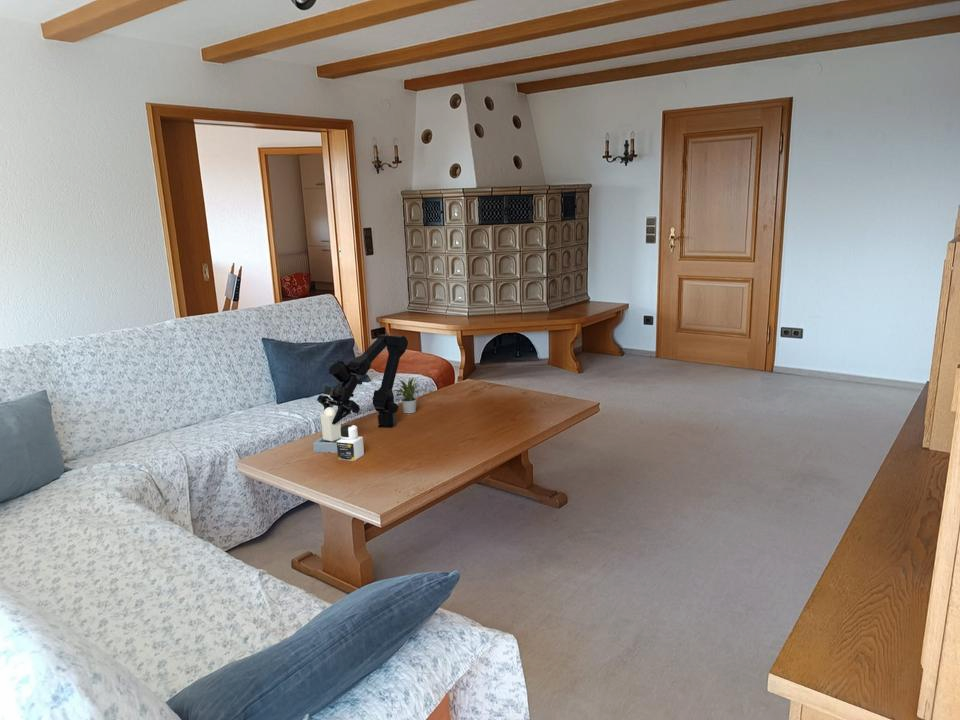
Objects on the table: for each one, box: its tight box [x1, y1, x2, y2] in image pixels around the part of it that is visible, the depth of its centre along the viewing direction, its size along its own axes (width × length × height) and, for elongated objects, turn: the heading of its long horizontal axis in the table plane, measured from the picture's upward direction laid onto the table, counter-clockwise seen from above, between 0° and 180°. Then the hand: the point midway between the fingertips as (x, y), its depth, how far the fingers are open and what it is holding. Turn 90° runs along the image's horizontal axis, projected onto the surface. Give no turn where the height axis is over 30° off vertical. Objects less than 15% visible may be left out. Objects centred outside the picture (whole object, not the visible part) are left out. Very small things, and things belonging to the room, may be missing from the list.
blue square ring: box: [312, 435, 341, 454], centre depth 255 cm, size 11×11×4 cm
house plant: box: [392, 376, 423, 414], centre depth 297 cm, size 14×14×16 cm
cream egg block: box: [320, 407, 342, 441], centre depth 253 cm, size 5×5×12 cm
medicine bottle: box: [336, 424, 365, 462], centre depth 243 cm, size 7×7×12 cm
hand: (328, 423), depth 252 cm, fingers closed on cream egg block, 5 cm apart
